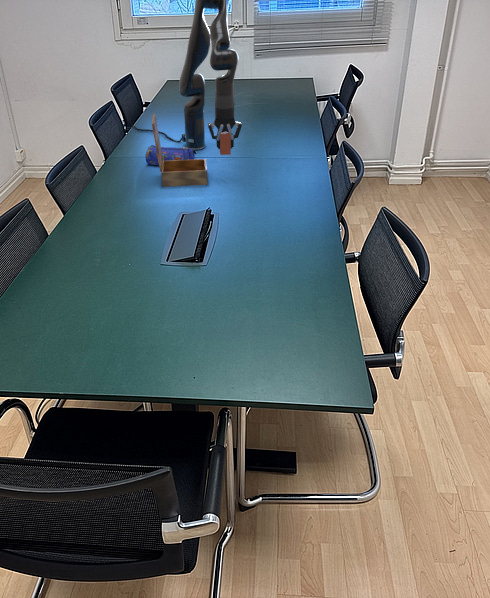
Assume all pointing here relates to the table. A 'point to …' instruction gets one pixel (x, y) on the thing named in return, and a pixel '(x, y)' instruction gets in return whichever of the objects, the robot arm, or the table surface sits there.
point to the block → (225, 143)
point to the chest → (184, 172)
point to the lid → (157, 142)
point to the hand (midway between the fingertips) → (225, 148)
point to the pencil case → (169, 154)
